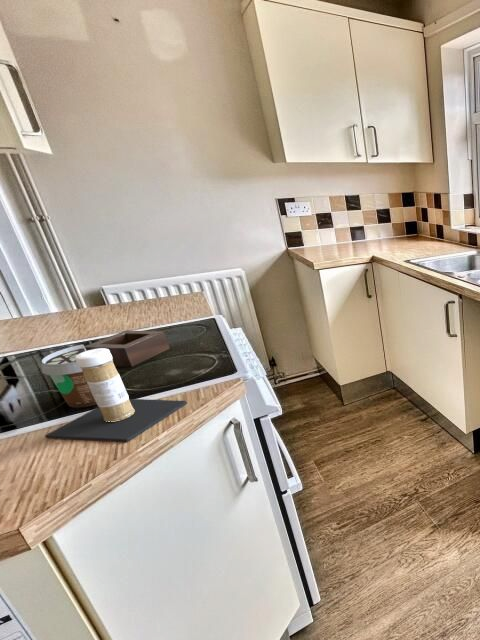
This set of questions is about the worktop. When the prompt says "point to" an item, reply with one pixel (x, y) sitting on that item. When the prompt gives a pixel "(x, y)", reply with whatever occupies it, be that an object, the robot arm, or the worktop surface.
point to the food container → (69, 376)
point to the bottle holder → (132, 346)
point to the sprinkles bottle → (105, 384)
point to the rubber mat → (117, 422)
